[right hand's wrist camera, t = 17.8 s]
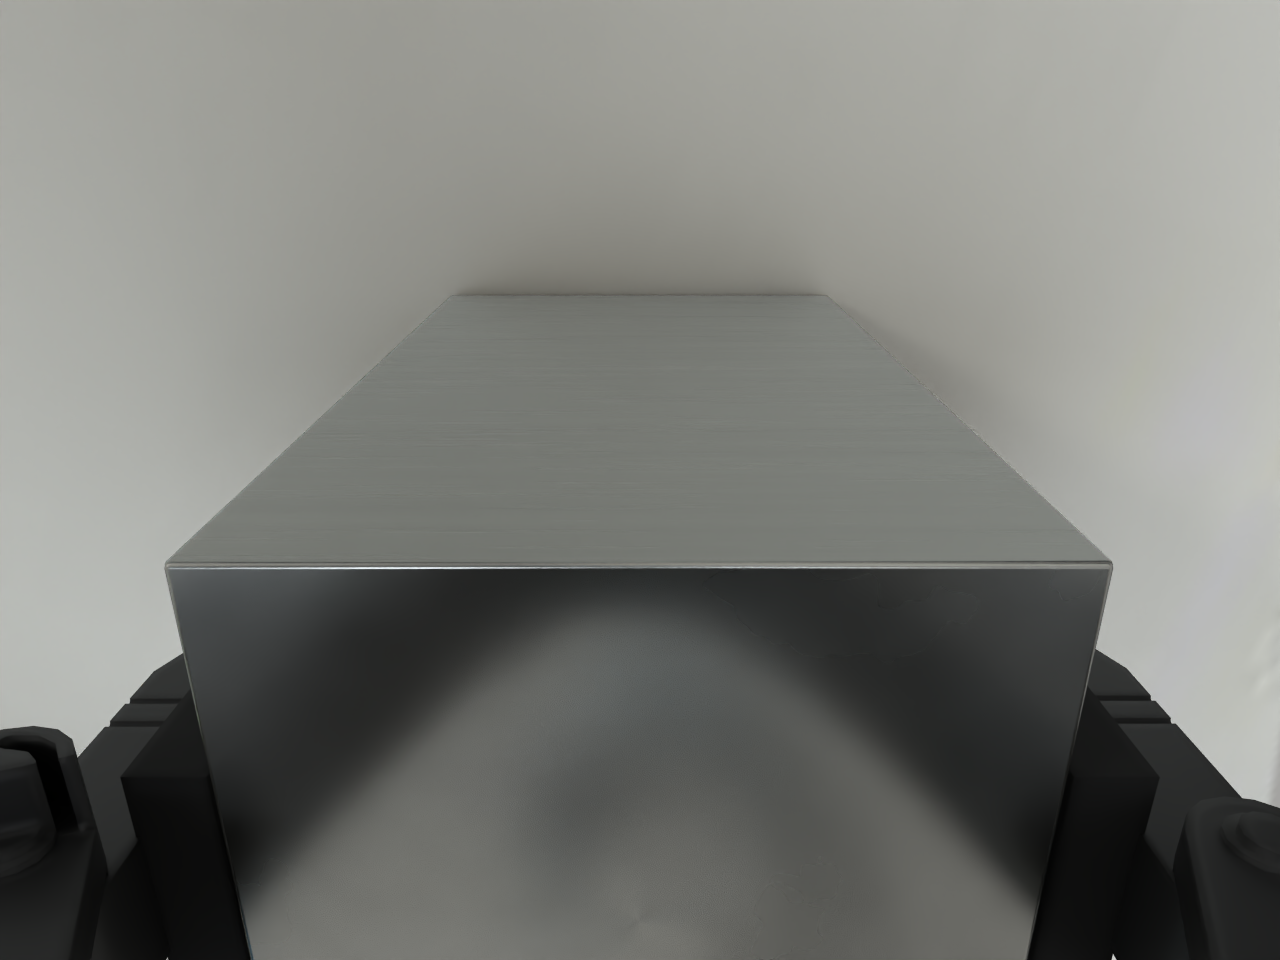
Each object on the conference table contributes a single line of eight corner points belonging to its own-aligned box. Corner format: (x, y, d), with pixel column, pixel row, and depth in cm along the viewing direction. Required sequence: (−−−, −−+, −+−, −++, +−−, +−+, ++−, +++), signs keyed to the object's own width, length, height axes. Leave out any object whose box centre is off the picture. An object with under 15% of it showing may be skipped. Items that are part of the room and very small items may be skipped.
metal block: (450, 294, 17) (159, 562, 7) (828, 294, 17) (1117, 562, 7) (476, 624, 20) (296, 1177, 10) (803, 624, 20) (981, 1177, 10)
